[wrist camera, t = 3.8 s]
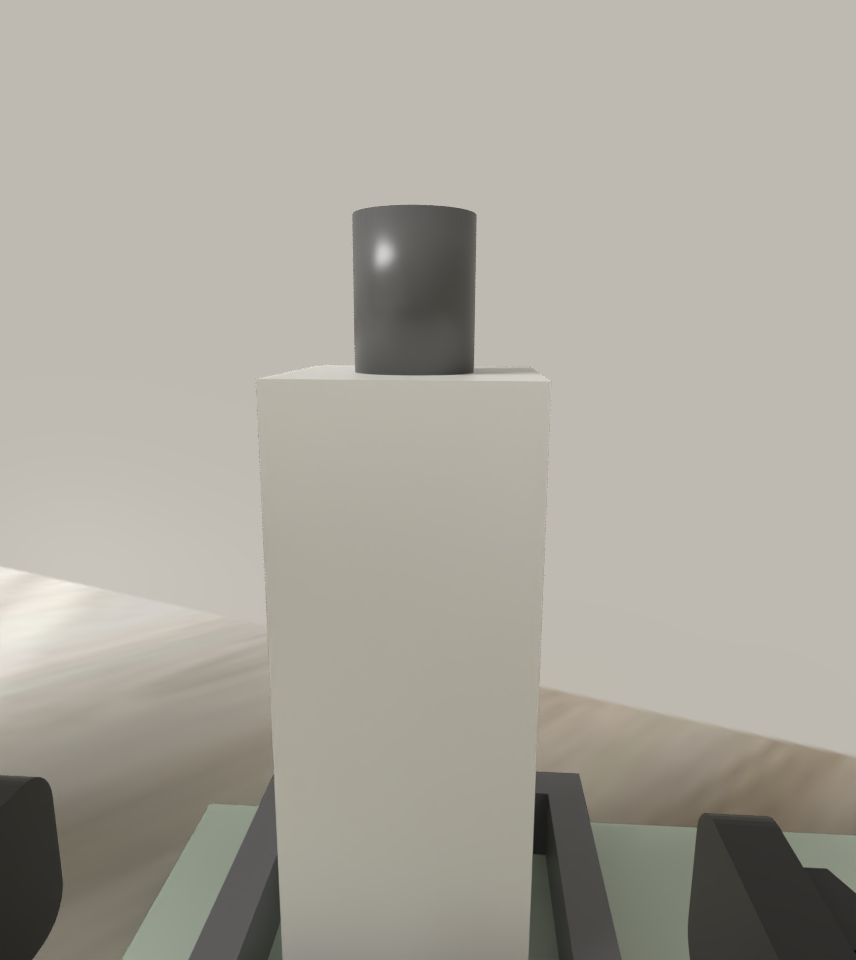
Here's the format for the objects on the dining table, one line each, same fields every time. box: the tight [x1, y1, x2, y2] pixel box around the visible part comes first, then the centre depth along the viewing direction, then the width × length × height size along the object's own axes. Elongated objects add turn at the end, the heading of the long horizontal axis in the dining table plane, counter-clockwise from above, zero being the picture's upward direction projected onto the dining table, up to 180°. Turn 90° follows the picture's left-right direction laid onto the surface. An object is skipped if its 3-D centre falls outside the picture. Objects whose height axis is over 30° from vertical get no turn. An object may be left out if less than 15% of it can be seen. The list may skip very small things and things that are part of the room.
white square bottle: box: [256, 205, 551, 960], centre depth 15 cm, size 5×5×17 cm
